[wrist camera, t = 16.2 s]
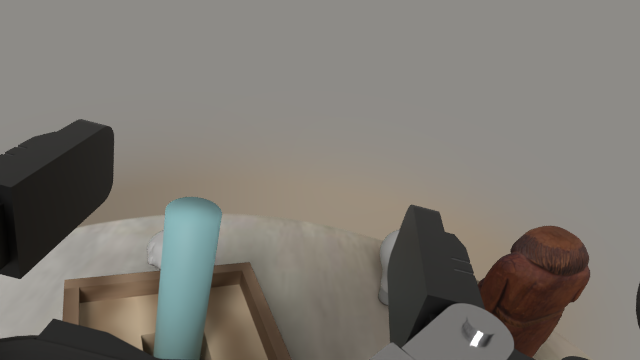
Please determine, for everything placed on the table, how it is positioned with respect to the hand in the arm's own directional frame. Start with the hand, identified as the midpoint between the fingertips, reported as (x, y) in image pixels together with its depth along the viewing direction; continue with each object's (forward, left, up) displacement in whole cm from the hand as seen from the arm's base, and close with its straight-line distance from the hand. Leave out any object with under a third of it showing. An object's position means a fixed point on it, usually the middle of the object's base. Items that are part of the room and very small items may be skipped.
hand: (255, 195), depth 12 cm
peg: (-3, -18, -32) cm, 37 cm away
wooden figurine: (-39, -13, -32) cm, 52 cm away
